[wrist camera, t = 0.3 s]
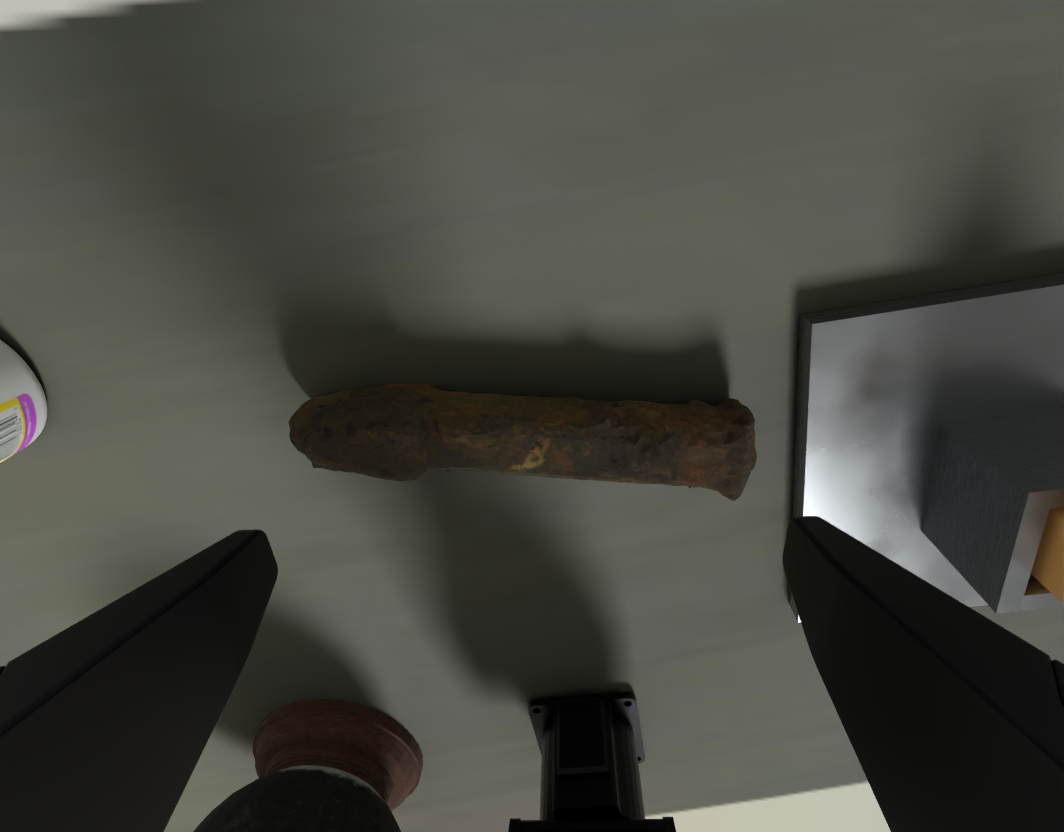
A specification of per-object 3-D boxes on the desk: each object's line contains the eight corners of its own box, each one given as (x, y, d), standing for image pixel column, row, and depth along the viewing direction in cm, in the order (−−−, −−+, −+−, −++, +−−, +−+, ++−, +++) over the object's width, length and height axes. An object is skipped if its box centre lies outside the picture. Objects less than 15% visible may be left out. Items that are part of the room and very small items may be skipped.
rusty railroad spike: (742, 385, 24) (781, 438, 19) (719, 463, 25) (749, 527, 21) (306, 339, 23) (252, 382, 19) (315, 421, 25) (267, 476, 21)
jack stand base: (1127, 571, 27) (1267, 680, 21) (789, 604, 29) (841, 711, 23) (1261, 240, 20) (1522, 280, 14) (800, 314, 22) (877, 374, 16)
